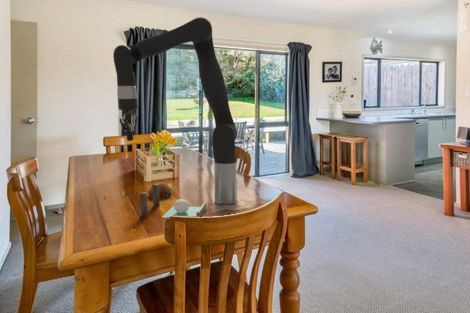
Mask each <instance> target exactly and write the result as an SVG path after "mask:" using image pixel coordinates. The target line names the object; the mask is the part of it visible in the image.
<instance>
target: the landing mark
mask: <svg viewBox="0 0 470 313" xmlns="http://www.w3.org/2000/svg"><path fill="white" fill-rule="evenodd" d="M200 207H201V206H189V208H188V210H187V212H185V213H183V214H180V213H178V212H176V211H175V208H174V205H173V206H171V208H169V210H168V211H167V212H165V214H163V215H162V216H161V219H168V218H167V217H170V216H175V215H177V216H196V212H197V211H198V210H199V208H200ZM207 209H208V207H207V206H206V209H205V211H206V210H207Z"/></svg>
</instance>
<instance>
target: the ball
mask: <svg viewBox="0 0 470 313" xmlns="http://www.w3.org/2000/svg"><path fill="white" fill-rule="evenodd" d="M173 206H174V208H175V211H176V212H178V213H180V214H183V213H185V212H187V210H188V208H189V207H190V206H189V202H188V201H187V200H185V199H184V198H183V199H182V198H181V199H177V200H175V203H174V205H173Z"/></svg>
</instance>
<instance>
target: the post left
mask: <svg viewBox="0 0 470 313" xmlns="http://www.w3.org/2000/svg"><path fill="white" fill-rule="evenodd" d="M139 206H140V208H139V209H140V210H139V211H140V217H141V218H143V219H146V218H148V217H149V215H148V212H149V211H148V210H149V209H148V192H144V191H143V192H139Z"/></svg>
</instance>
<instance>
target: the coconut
mask: <svg viewBox="0 0 470 313" xmlns="http://www.w3.org/2000/svg"><path fill="white" fill-rule="evenodd" d="M155 184H159V200H162V199H163V200H164V199H168V198H170V197H171V196H172V193H173V191H172V188H171V186H169V185H168V184H167V183H165V182H160V181H159V182H157V183H155ZM147 195H148V197H149V198H151V199H153V190H152V185H151V186H150V187H149V189H148V192H147Z"/></svg>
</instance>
